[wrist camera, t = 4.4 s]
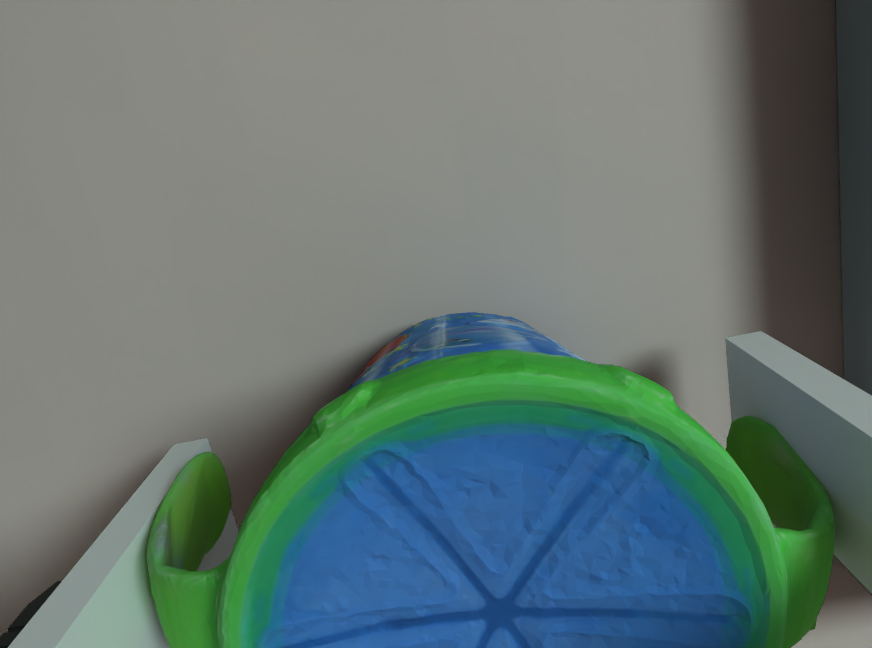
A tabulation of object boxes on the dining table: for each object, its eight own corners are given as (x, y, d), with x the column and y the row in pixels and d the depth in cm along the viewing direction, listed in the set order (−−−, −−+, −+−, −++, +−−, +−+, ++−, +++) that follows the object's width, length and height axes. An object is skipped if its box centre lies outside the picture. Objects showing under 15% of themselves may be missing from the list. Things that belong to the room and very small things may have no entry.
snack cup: (727, 269, 15) (1013, 395, 7) (676, 555, 17) (859, 865, 10) (226, 246, 14) (27, 356, 7) (240, 542, 16) (98, 851, 9)
